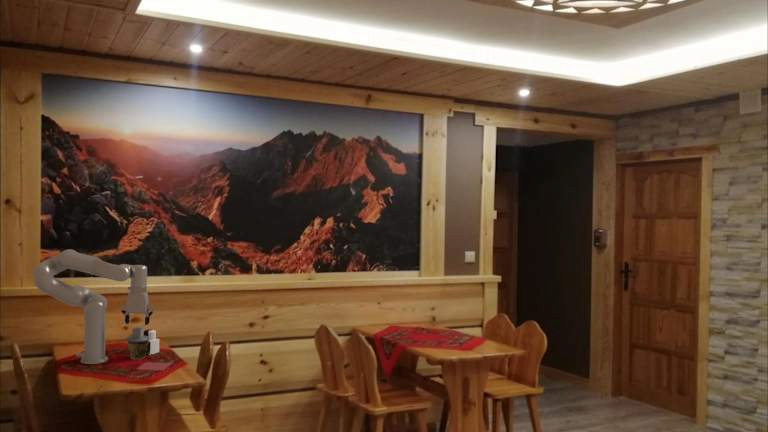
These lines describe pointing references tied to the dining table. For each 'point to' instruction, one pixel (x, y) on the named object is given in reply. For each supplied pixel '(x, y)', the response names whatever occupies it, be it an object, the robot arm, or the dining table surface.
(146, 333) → the medicine bottle
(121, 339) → the dining table surface
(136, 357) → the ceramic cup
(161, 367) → the mat
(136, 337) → the lid
